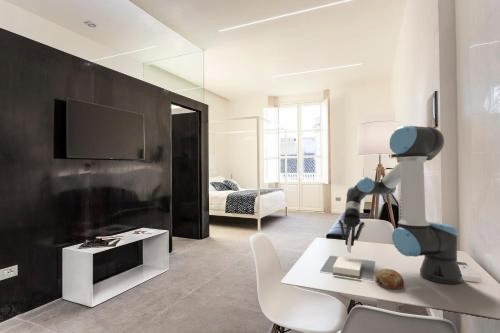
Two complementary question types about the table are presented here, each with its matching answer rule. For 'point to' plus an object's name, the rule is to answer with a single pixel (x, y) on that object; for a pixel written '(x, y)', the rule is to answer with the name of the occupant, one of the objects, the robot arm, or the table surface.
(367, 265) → the mat
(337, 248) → the table surface
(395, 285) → the bread roll
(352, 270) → the tile
